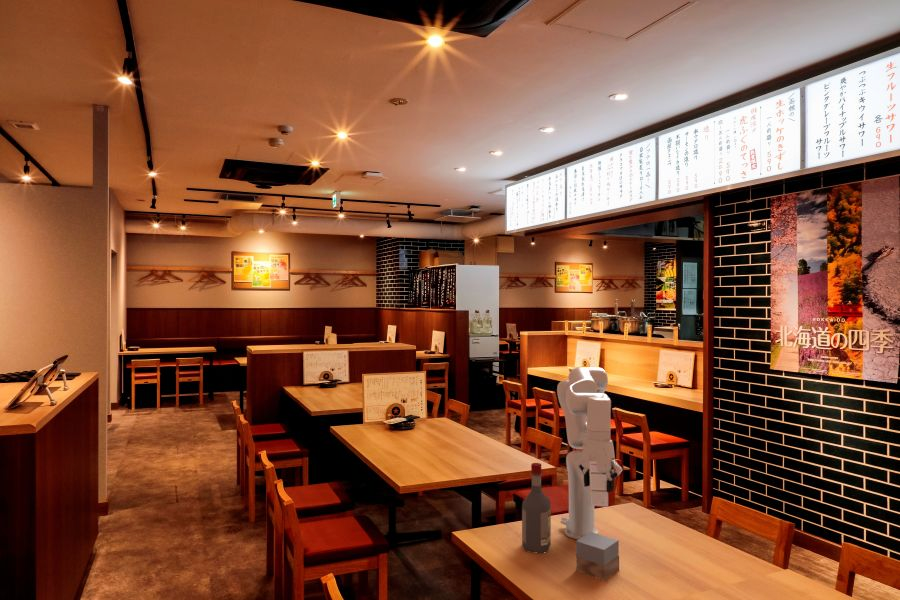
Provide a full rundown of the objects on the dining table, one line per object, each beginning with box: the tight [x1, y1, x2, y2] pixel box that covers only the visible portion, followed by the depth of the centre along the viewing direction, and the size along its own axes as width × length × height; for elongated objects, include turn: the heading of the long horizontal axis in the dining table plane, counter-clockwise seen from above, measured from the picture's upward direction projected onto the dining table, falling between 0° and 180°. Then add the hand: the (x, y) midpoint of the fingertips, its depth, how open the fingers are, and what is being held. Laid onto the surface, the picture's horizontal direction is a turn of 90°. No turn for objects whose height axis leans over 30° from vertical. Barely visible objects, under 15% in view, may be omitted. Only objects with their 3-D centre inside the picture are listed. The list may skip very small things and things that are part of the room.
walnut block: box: [575, 555, 620, 581], centre depth 191 cm, size 10×10×5 cm
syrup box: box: [590, 461, 609, 507], centre depth 190 cm, size 6×6×14 cm
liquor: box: [521, 462, 552, 554], centre depth 208 cm, size 9×9×30 cm
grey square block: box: [575, 532, 620, 566], centre depth 190 cm, size 10×10×5 cm
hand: (598, 488), depth 190 cm, fingers closed on syrup box, 7 cm apart
